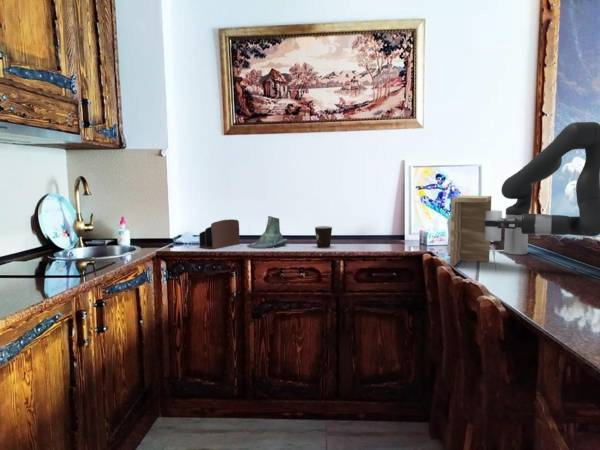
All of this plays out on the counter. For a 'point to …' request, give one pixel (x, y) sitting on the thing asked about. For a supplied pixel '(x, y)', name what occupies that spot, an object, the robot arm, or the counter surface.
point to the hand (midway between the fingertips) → (486, 222)
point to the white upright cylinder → (493, 232)
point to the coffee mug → (323, 236)
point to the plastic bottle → (449, 235)
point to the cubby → (469, 229)
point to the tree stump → (270, 236)
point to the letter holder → (220, 235)
